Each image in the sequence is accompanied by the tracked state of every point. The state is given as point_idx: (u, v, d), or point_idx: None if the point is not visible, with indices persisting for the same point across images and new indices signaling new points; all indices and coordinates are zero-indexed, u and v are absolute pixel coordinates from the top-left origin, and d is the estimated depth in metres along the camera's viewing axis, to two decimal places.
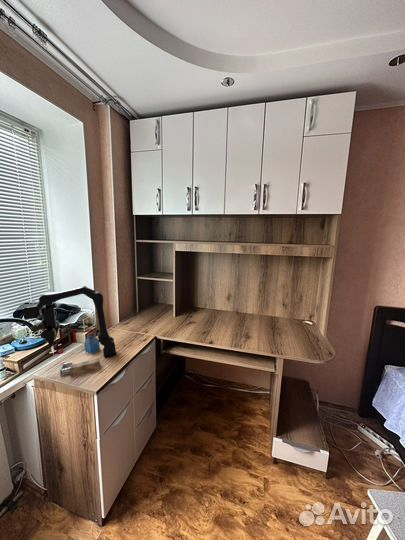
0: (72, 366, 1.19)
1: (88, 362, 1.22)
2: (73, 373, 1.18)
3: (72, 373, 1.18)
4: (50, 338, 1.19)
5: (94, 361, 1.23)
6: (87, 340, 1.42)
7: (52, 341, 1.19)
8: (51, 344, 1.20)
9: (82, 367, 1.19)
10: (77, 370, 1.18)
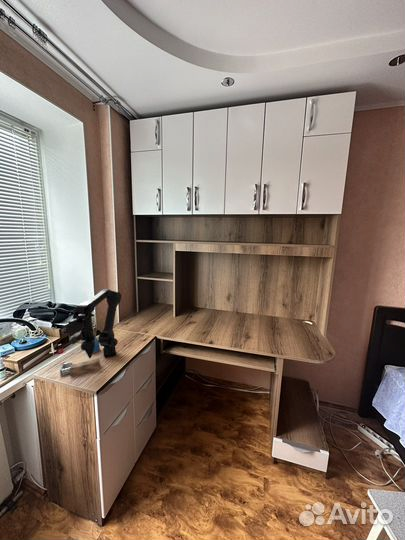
0: (72, 366, 1.19)
1: (88, 362, 1.22)
2: (73, 373, 1.18)
3: (72, 373, 1.18)
4: (89, 349, 1.17)
5: (94, 361, 1.23)
6: None
7: (91, 352, 1.17)
8: (90, 355, 1.18)
9: (82, 367, 1.19)
10: (77, 370, 1.19)
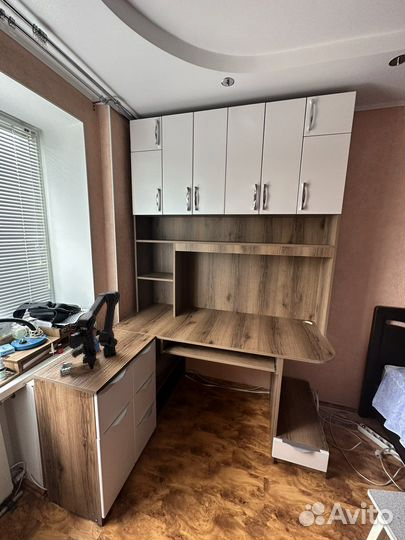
0: (72, 366, 1.19)
1: None
2: (73, 373, 1.18)
3: (72, 373, 1.18)
4: None
5: None
6: None
7: (93, 363, 1.20)
8: (91, 367, 1.21)
9: (82, 366, 1.19)
10: (77, 370, 1.19)
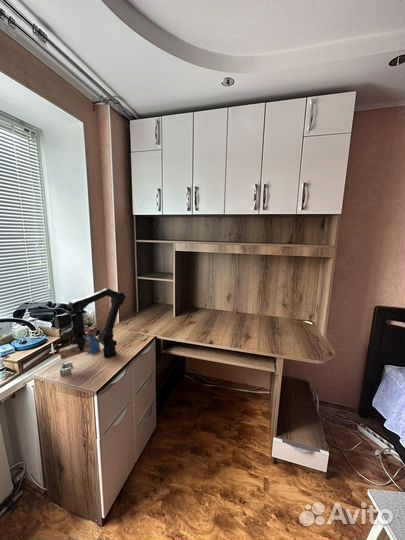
0: (62, 349, 1.20)
1: None
2: (63, 356, 1.19)
3: (62, 356, 1.19)
4: (81, 343, 1.21)
5: None
6: (87, 340, 1.42)
7: (82, 345, 1.22)
8: (81, 349, 1.22)
9: (72, 349, 1.21)
10: (67, 352, 1.20)
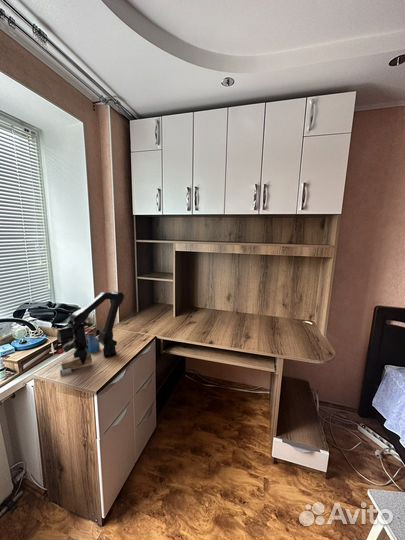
0: (63, 362, 1.21)
1: None
2: (65, 368, 1.20)
3: (64, 368, 1.20)
4: (82, 355, 1.22)
5: None
6: None
7: (84, 358, 1.23)
8: (83, 361, 1.23)
9: (73, 361, 1.22)
10: (69, 365, 1.21)
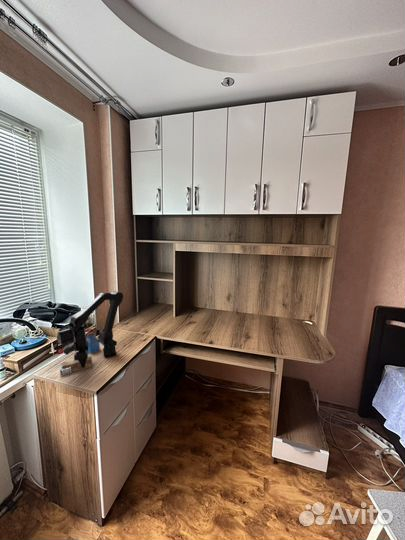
0: (64, 364, 1.22)
1: None
2: None
3: None
4: (82, 359, 1.21)
5: None
6: (87, 340, 1.42)
7: (84, 362, 1.21)
8: (83, 365, 1.22)
9: (74, 364, 1.22)
10: (69, 367, 1.21)
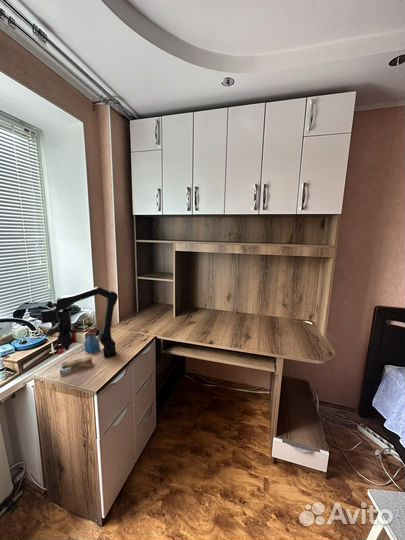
0: (64, 364, 1.22)
1: (80, 360, 1.25)
2: None
3: None
4: (66, 341, 1.19)
5: (86, 359, 1.26)
6: (87, 340, 1.42)
7: (68, 344, 1.20)
8: (67, 347, 1.20)
9: (74, 364, 1.22)
10: (69, 367, 1.21)
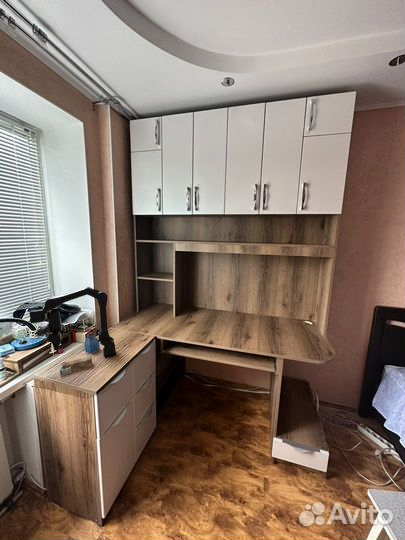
0: (64, 364, 1.22)
1: (80, 360, 1.25)
2: None
3: None
4: (56, 342, 1.20)
5: (86, 359, 1.26)
6: (87, 340, 1.42)
7: (57, 344, 1.21)
8: (56, 348, 1.21)
9: (74, 364, 1.22)
10: (69, 367, 1.21)
